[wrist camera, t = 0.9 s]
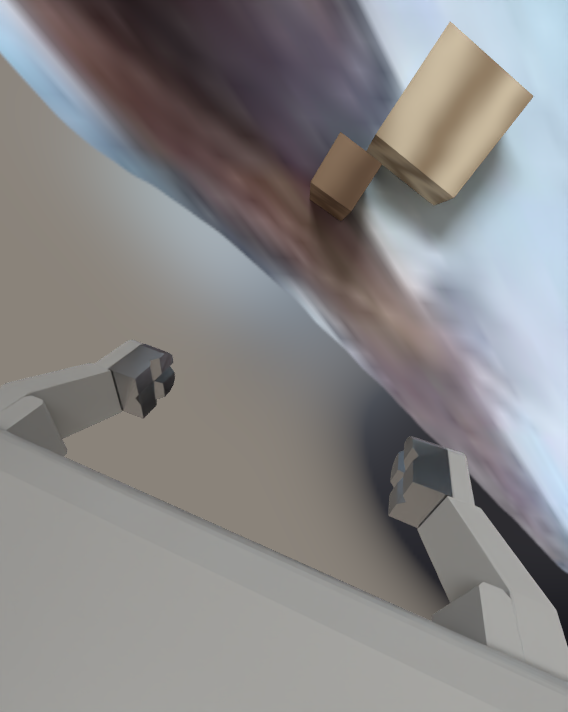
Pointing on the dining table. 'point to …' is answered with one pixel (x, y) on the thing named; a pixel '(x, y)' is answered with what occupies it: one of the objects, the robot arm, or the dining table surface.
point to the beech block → (448, 118)
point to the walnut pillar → (343, 177)
